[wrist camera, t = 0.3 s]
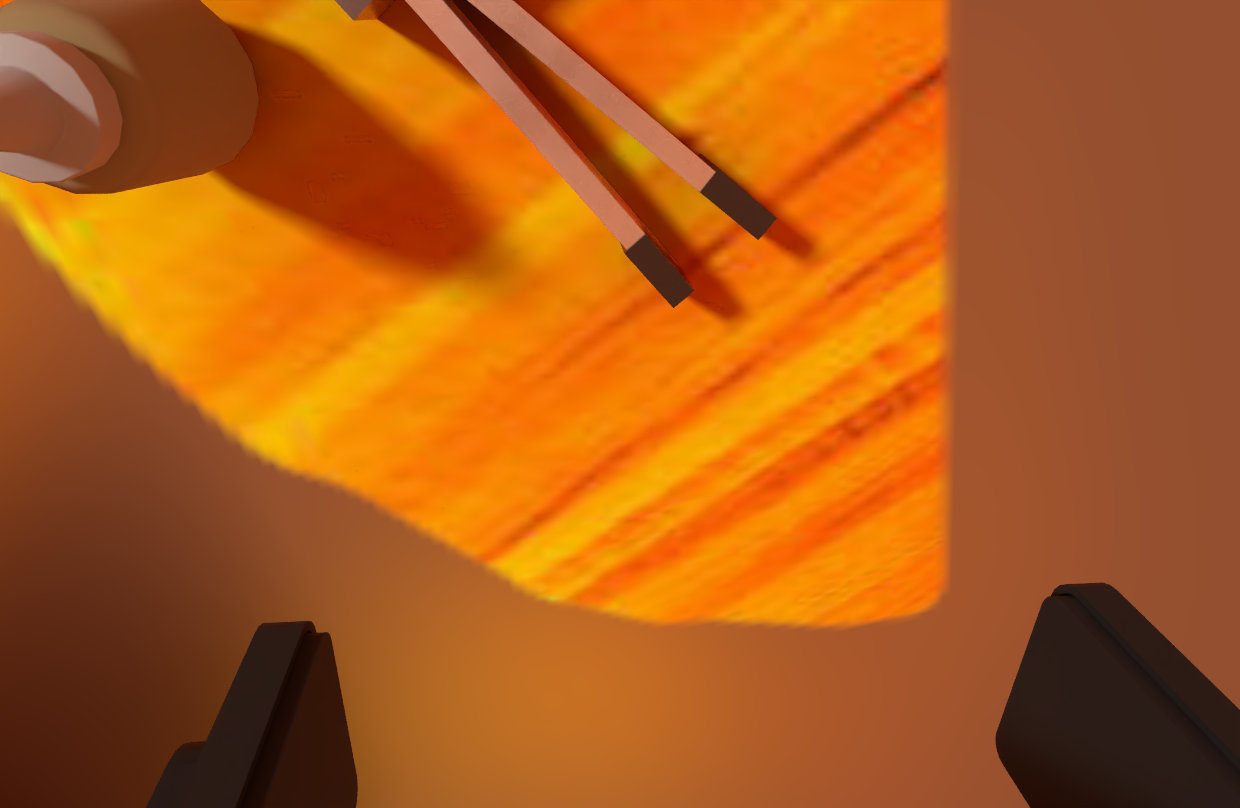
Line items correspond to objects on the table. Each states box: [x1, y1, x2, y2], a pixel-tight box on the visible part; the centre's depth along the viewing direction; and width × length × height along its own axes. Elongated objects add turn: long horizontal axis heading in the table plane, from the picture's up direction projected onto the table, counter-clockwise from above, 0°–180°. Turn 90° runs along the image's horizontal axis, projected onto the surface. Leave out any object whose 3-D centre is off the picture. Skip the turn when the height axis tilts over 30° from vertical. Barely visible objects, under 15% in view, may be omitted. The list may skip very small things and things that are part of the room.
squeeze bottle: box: [0, 0, 259, 194], centre depth 29 cm, size 8×8×18 cm
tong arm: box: [468, 0, 777, 240], centre depth 37 cm, size 19×1×5 cm, turn 52°
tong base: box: [335, 0, 694, 308], centre depth 37 cm, size 24×7×6 cm, turn 41°
